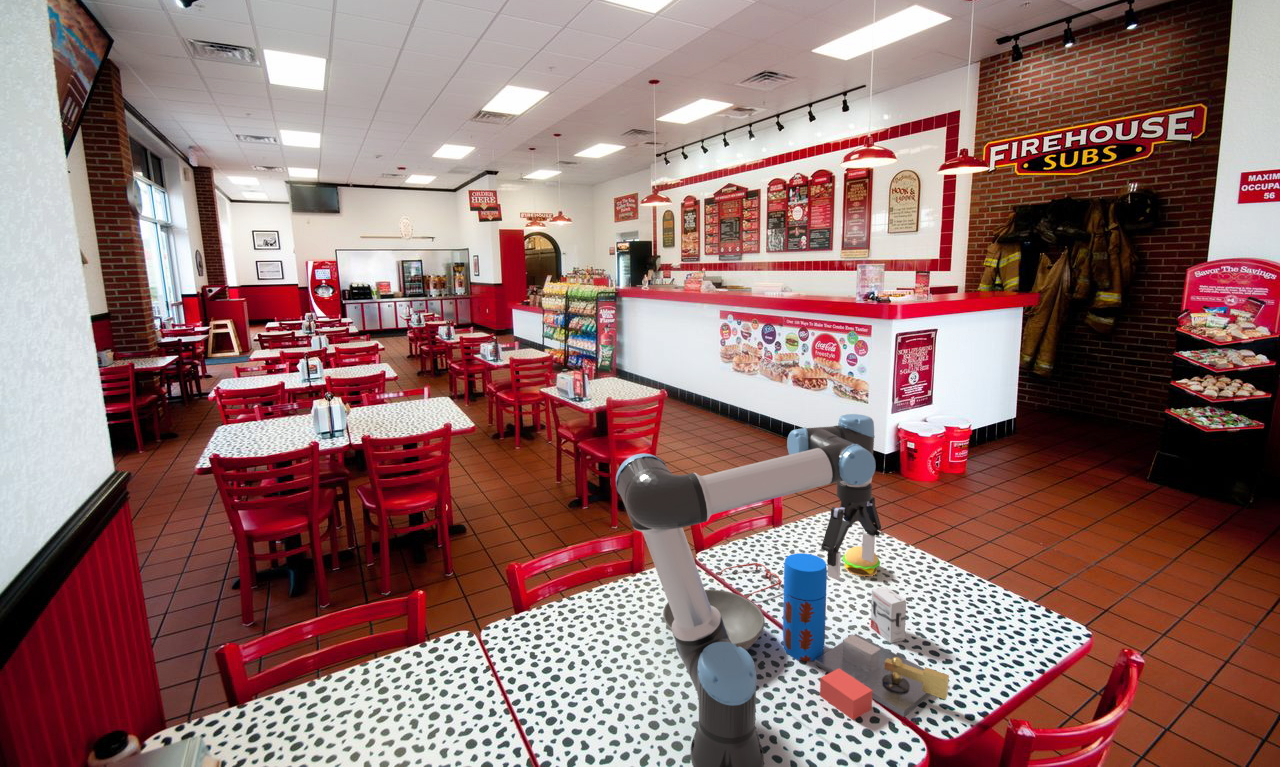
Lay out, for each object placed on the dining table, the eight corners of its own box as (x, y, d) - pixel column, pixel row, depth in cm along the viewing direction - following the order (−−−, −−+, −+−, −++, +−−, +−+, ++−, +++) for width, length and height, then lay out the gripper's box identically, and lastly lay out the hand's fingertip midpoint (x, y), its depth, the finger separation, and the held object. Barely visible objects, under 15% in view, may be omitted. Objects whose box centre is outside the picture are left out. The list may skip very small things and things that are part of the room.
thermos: (826, 663, 152) (829, 573, 148) (783, 659, 154) (785, 570, 150) (822, 639, 163) (824, 554, 159) (782, 635, 165) (783, 551, 161)
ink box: (869, 627, 168) (871, 588, 166) (884, 623, 169) (885, 585, 167) (890, 644, 160) (892, 603, 158) (905, 640, 161) (907, 600, 159)
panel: (903, 717, 133) (905, 691, 132) (814, 664, 152) (815, 641, 151) (943, 683, 143) (944, 659, 142) (855, 638, 162) (856, 617, 161)
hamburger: (882, 569, 202) (883, 545, 200) (875, 584, 192) (876, 559, 190) (846, 561, 208) (847, 538, 207) (838, 575, 198) (838, 551, 197)
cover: (852, 720, 132) (853, 700, 132) (819, 696, 140) (820, 677, 140) (871, 709, 136) (872, 690, 135) (838, 686, 144) (839, 668, 143)
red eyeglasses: (786, 596, 186) (786, 581, 185) (742, 607, 180) (742, 592, 179) (755, 572, 202) (755, 558, 201) (714, 582, 196) (714, 568, 195)
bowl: (683, 683, 146) (683, 653, 144) (651, 623, 172) (651, 596, 171) (783, 663, 153) (783, 633, 152) (737, 607, 180) (737, 582, 178)
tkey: (883, 679, 142) (884, 656, 141) (886, 674, 144) (887, 651, 143) (945, 702, 134) (947, 678, 133) (947, 696, 136) (949, 672, 135)
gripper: (835, 498, 125) (832, 592, 128) (899, 474, 139) (895, 558, 143) (806, 489, 131) (804, 579, 134) (870, 467, 145) (867, 548, 149)
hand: (851, 568), depth 138 cm, fingers open, 13 cm apart
